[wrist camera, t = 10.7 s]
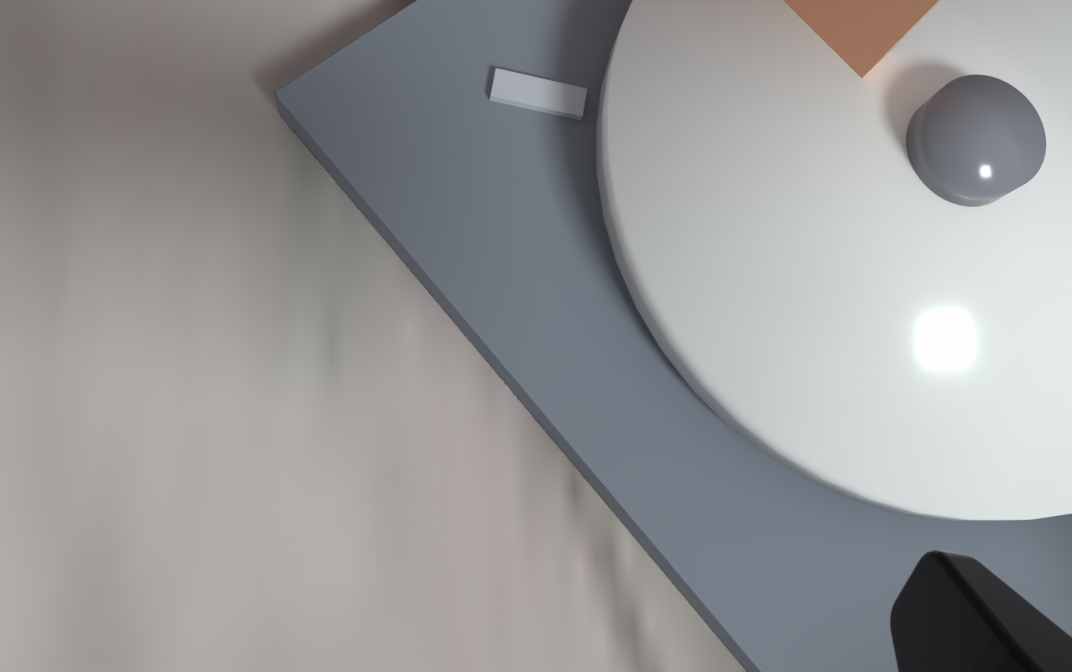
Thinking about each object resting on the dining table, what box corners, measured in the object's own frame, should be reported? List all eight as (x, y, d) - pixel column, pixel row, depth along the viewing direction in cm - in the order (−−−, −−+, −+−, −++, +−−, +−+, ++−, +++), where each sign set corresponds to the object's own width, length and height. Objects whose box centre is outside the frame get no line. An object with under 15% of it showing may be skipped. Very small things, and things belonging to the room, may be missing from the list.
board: (908, 864, 21) (944, 887, 19) (281, 115, 23) (272, 88, 21) (1409, 268, 27) (1463, 253, 26) (881, -281, 29) (905, -322, 27)
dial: (629, 547, 20) (799, 551, 11) (565, -179, 24) (654, -575, 15) (1308, 498, 22) (1854, 471, 14) (1143, -144, 27) (1487, -462, 18)
